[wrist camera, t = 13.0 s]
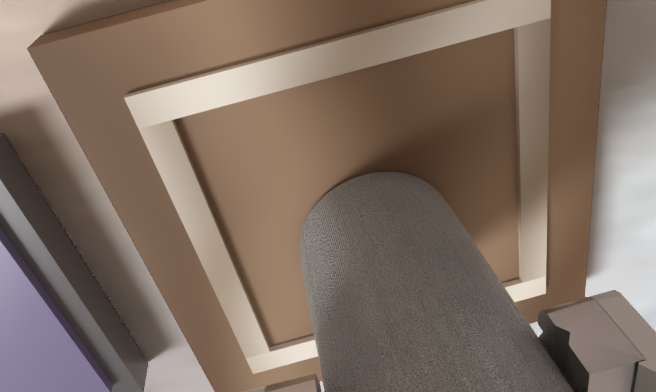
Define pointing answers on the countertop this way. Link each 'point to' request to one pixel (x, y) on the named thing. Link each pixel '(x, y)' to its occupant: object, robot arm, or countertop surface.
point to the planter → (411, 297)
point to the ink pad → (53, 303)
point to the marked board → (330, 145)
